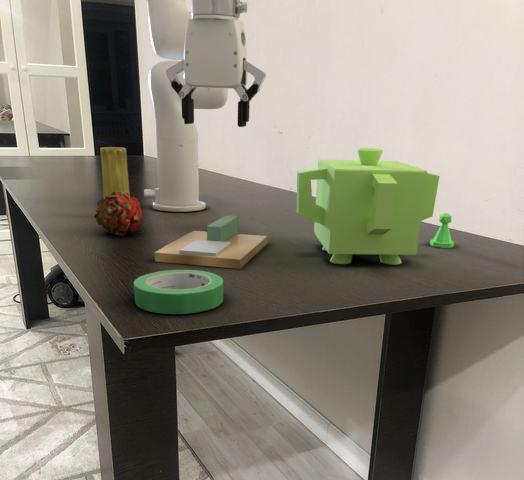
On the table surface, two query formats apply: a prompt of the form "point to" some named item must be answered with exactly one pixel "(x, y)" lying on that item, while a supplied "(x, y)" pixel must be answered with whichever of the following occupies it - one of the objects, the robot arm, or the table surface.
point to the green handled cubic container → (367, 206)
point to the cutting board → (230, 258)
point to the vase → (114, 170)
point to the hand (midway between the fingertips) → (215, 125)
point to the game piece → (443, 233)
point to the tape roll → (178, 291)
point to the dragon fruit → (119, 213)
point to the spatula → (214, 238)
